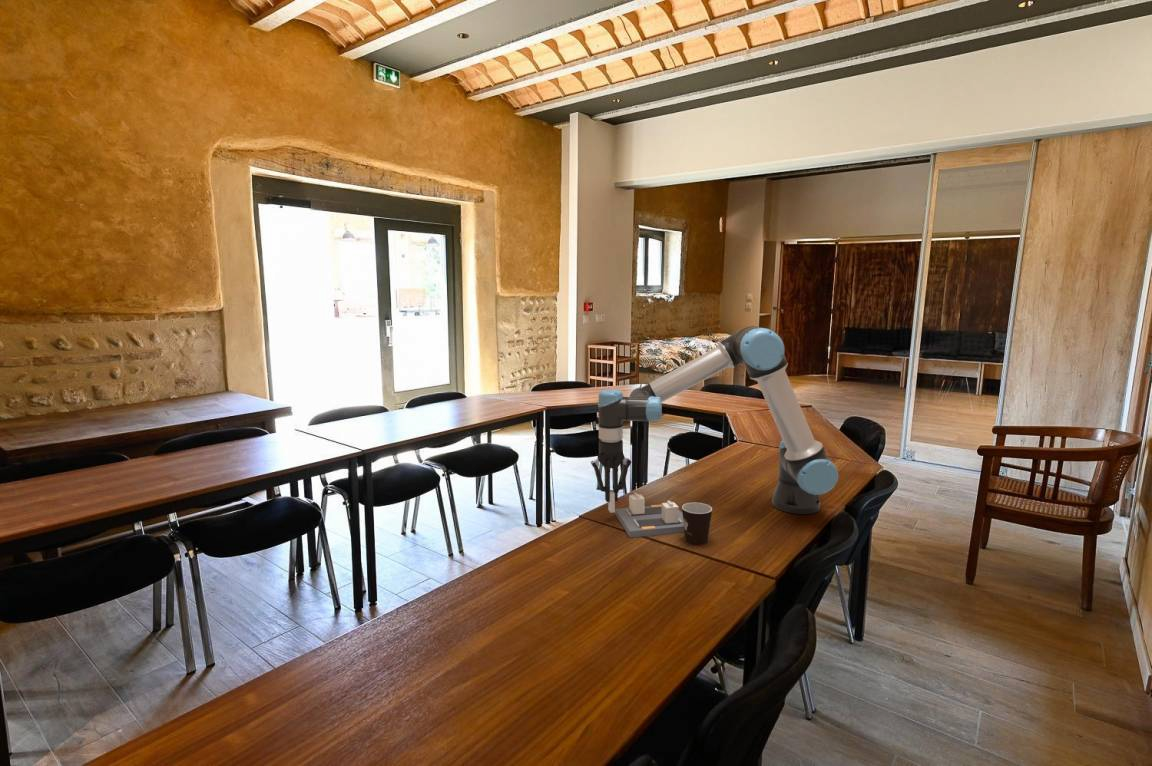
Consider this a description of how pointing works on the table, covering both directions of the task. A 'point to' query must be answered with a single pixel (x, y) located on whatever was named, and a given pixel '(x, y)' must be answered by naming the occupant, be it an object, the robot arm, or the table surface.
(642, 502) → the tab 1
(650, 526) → the switch board
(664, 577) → the table surface
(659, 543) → the table surface
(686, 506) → the coffee mug
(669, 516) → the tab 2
